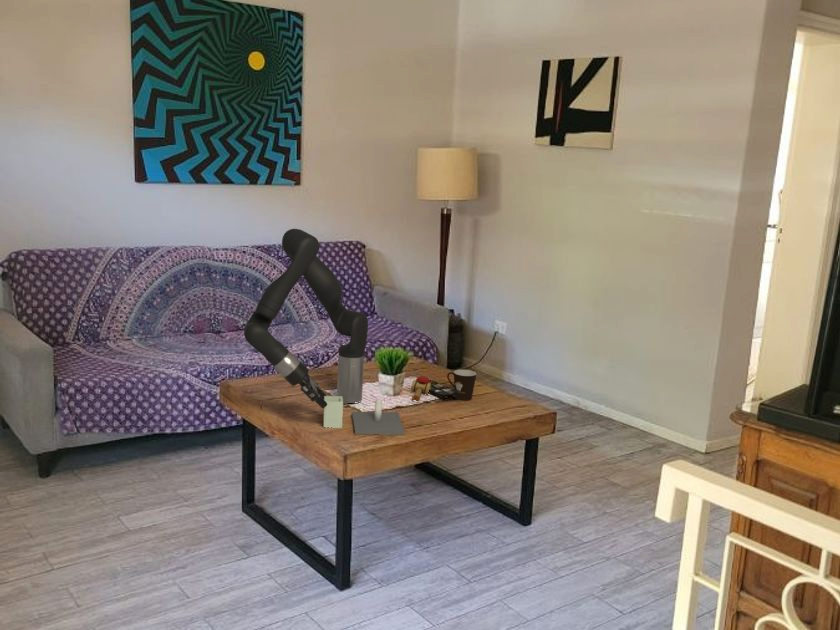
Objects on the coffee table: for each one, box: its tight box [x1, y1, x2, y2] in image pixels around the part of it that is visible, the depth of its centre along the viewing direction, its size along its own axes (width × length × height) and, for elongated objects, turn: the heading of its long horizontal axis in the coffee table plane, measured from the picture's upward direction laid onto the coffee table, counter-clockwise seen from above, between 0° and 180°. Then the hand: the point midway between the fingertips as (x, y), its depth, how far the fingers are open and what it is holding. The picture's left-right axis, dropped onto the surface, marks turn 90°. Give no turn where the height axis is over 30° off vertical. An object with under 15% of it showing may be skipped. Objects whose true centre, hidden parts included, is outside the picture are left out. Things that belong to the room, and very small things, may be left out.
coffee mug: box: [446, 369, 477, 402], centre depth 304 cm, size 12×9×10 cm
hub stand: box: [351, 398, 405, 436], centre depth 268 cm, size 18×16×9 cm
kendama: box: [410, 375, 432, 402], centre depth 303 cm, size 8×6×18 cm
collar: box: [322, 395, 344, 429], centre depth 265 cm, size 6×6×9 cm
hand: (325, 402), depth 264 cm, fingers open, 8 cm apart
